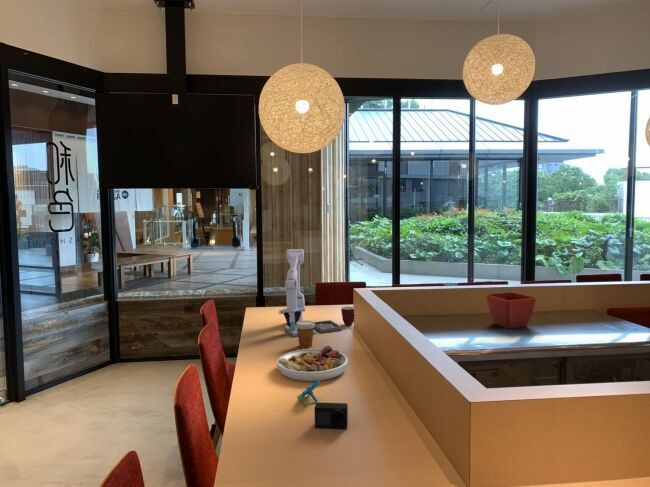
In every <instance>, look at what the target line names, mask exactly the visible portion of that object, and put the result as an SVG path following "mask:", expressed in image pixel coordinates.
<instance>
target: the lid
mask: <svg viewBox="0 0 650 487" xmlns="http://www.w3.org/2000/svg"><path fill="white" fill-rule="evenodd" d="M285 328H286V329H287V330H289V331H290V332H291V333H292V334H294V335H298V333H297V328H296V325H295V323H294V322H290V326H287V325H285V326H284V329H285ZM313 332H316V333H317V331H316V329H314V331H313Z"/></svg>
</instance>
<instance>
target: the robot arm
mask: <svg viewBox="0 0 650 487" xmlns="http://www.w3.org/2000/svg"><path fill="white" fill-rule="evenodd" d="M304 253H305V252H304V249H303V248H300V249H299V248H297V249H295V248H294V249H293V248H292V249H291V248H290V249H289V248H287V249H286V255H285V256H286V261H287V263H288V264H289V269H288V270H287V274H286V280H285V281H284V282H285V283H284V287H285V293H286V308H283V309H278V314H279V315H283V316H284V318H285V321H286V326H290V322H294V323H295V325H296V323H297V322H298V321H304V320H303V312H306V308H305V302H306V301H305V295H304V294H303V293H302V292H301V291H300V289H301V288H300V286H301V285H300V284H301V283H300V281H301V280H300V279H301V276H300V275H301V272H300V271H301V265H303V264H304V262H305V260H304V259H305V254H304Z"/></svg>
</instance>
